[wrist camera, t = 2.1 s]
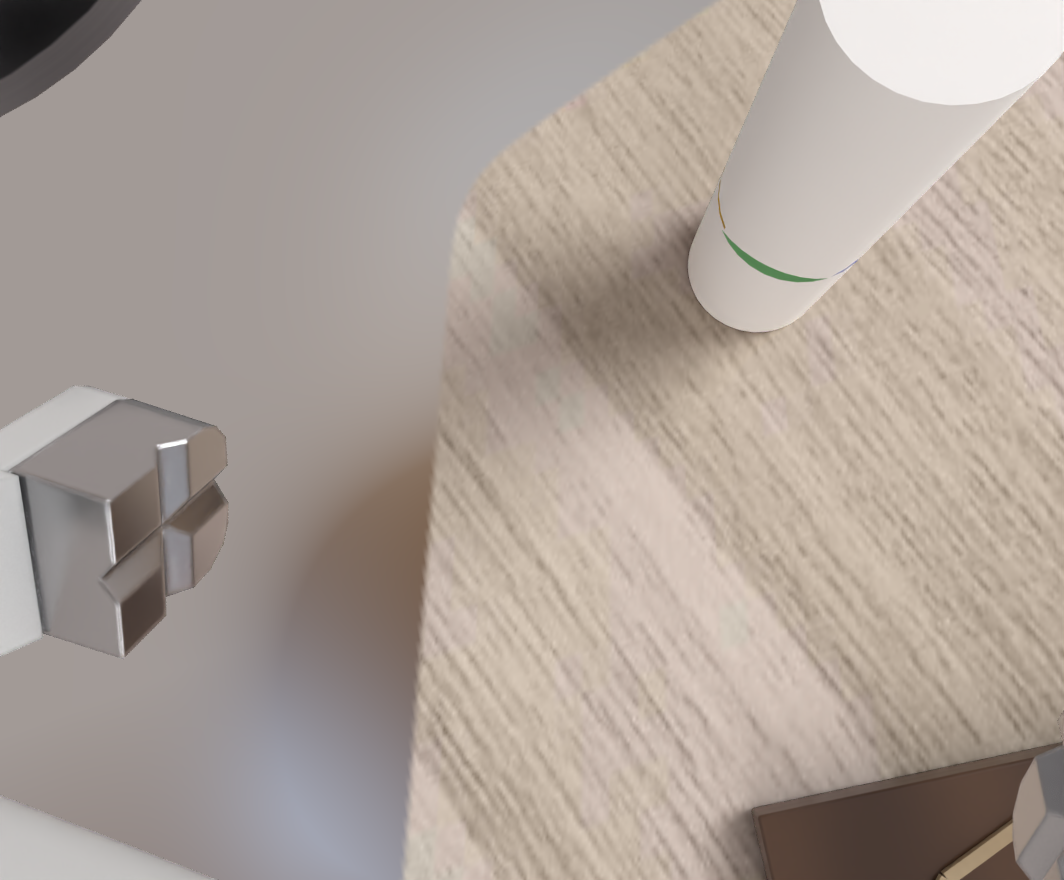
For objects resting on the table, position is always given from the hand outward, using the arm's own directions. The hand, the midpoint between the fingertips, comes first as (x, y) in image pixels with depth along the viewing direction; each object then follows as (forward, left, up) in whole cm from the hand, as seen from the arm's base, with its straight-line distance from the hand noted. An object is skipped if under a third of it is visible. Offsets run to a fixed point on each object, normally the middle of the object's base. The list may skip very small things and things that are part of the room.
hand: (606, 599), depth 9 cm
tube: (+8, +8, -21) cm, 24 cm away
